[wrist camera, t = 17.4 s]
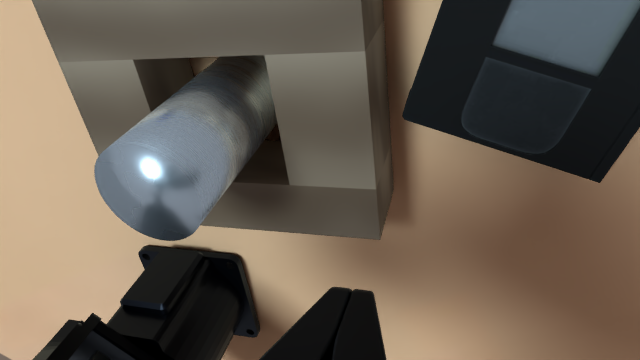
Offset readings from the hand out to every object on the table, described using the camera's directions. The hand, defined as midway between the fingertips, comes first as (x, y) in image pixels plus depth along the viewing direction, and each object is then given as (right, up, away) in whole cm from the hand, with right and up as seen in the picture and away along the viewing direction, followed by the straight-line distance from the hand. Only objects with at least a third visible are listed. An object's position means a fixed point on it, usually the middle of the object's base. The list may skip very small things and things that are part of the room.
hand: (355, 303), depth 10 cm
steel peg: (-4, +6, +11) cm, 14 cm away
